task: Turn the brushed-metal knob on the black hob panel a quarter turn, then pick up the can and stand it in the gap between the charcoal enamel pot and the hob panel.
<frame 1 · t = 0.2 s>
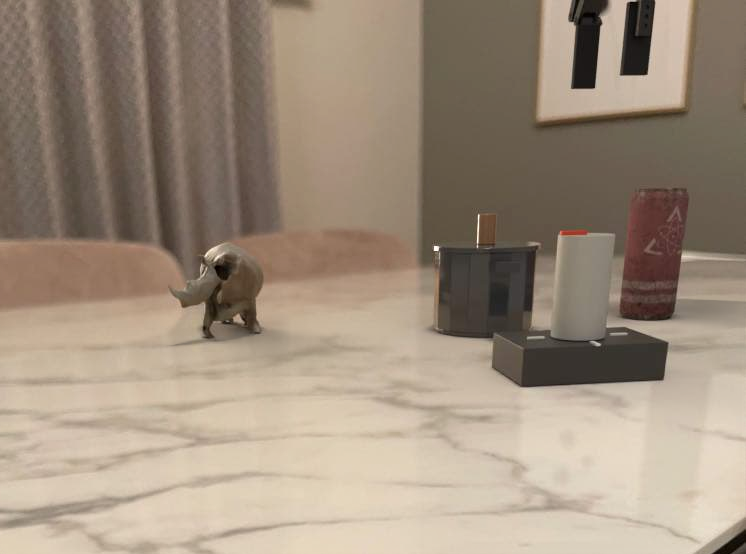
hand: (606, 82, 94), 25 cm above the table, tool pointing down, fingers open, 13 cm apart
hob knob: (582, 284, 69), point 7 cm above the table, hinge at 0.0°
can: (645, 318, 99), on the table
pot: (482, 329, 93), on the table
hob: (574, 372, 72), on the table
pot lid: (485, 248, 90), point 8 cm above the table, touching pot
rhinoceros figurine: (227, 334, 95), on the table
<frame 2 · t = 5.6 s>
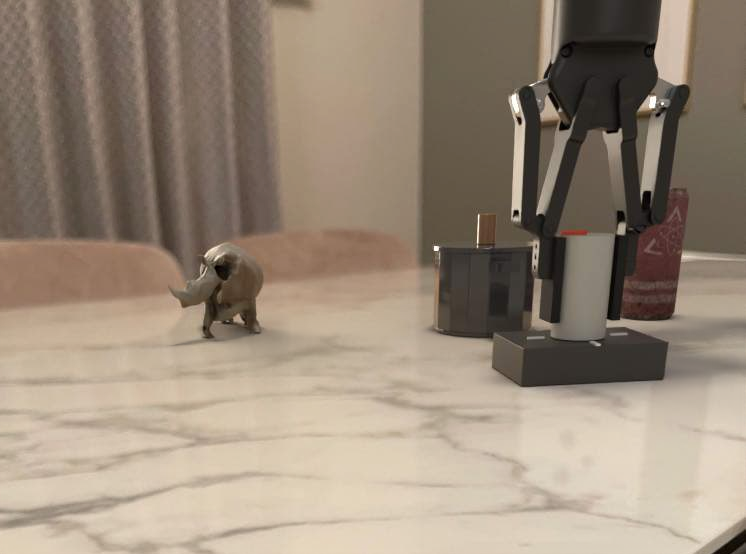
hand: (579, 318, 70), 4 cm above the table, tool pointing down, fingers closed on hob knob, 4 cm apart
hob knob: (582, 284, 69), point 7 cm above the table, hinge at 0.0°, touching gripper
everything else where it was.
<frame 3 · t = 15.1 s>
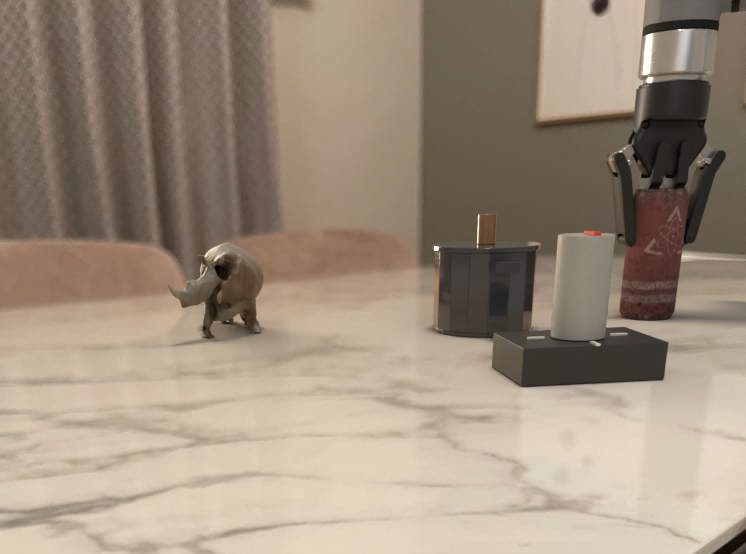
hand: (647, 308, 99), 1 cm above the table, tool pointing down, fingers closed
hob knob: (582, 284, 69), point 7 cm above the table, hinge at 90.2°
everything else where it was.
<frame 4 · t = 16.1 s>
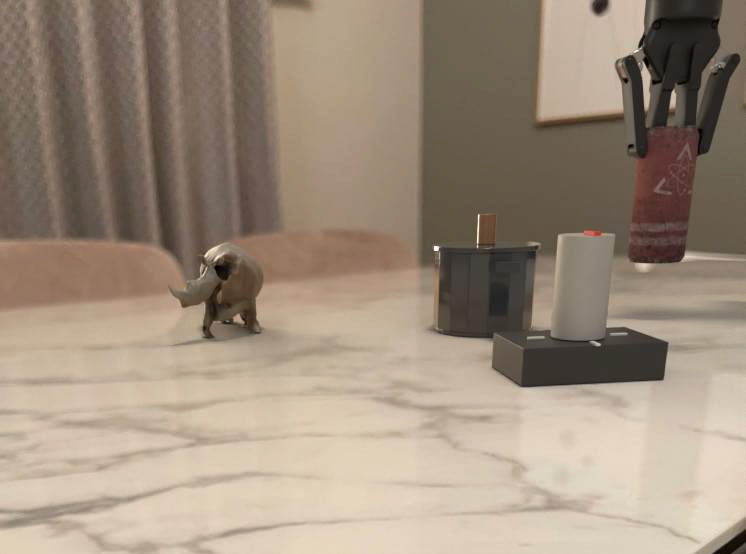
hand: (659, 225, 95), 10 cm above the table, tool pointing down, fingers closed on can
can: (655, 263, 97), point 6 cm above the table, touching gripper, hand
everything else where it was.
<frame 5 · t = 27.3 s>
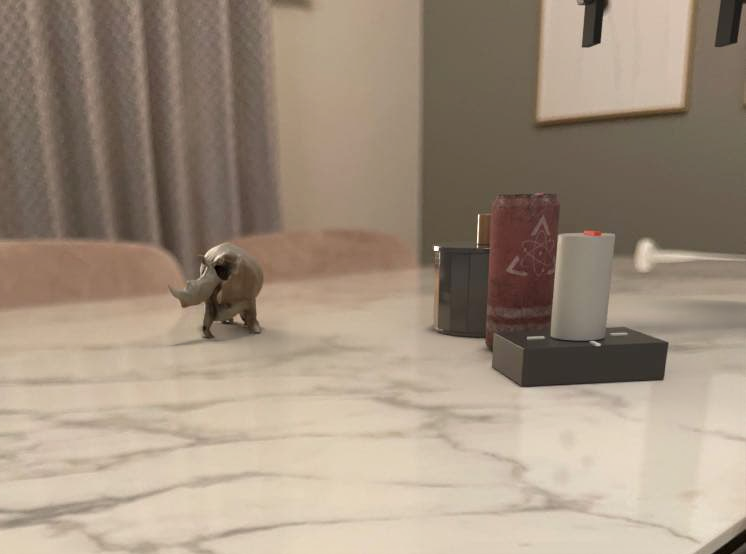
hand: (658, 45, 81), 27 cm above the table, tool pointing down, fingers open, 13 cm apart
can: (517, 350, 82), on the table
everything else where it was.
at the end: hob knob at +90° (first picture: +0°); can 0.2 cm from the target spot on the table beside the pot, on the table; can tilted 0° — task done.
